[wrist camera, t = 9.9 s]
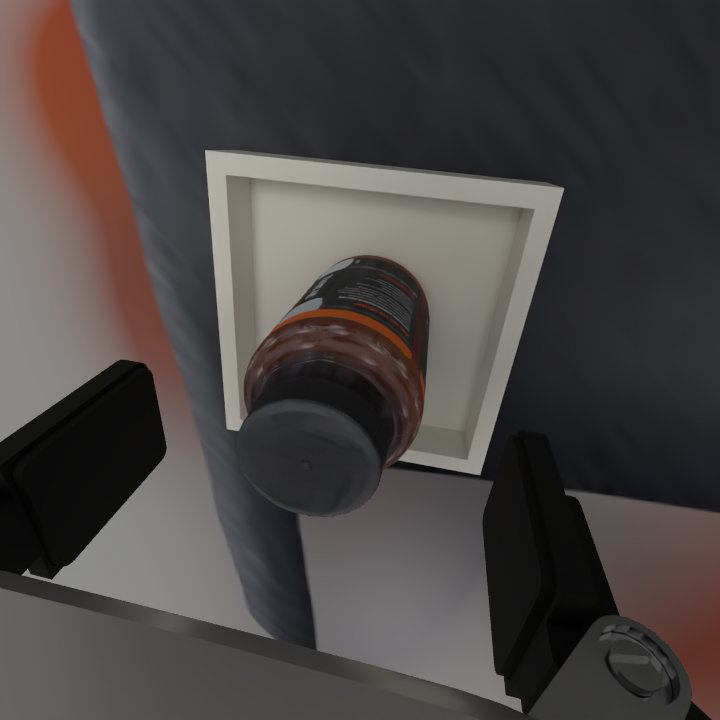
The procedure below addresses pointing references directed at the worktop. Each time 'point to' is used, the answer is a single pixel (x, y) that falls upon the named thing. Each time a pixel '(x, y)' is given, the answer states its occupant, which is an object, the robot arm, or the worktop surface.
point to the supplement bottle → (337, 389)
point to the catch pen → (397, 243)
